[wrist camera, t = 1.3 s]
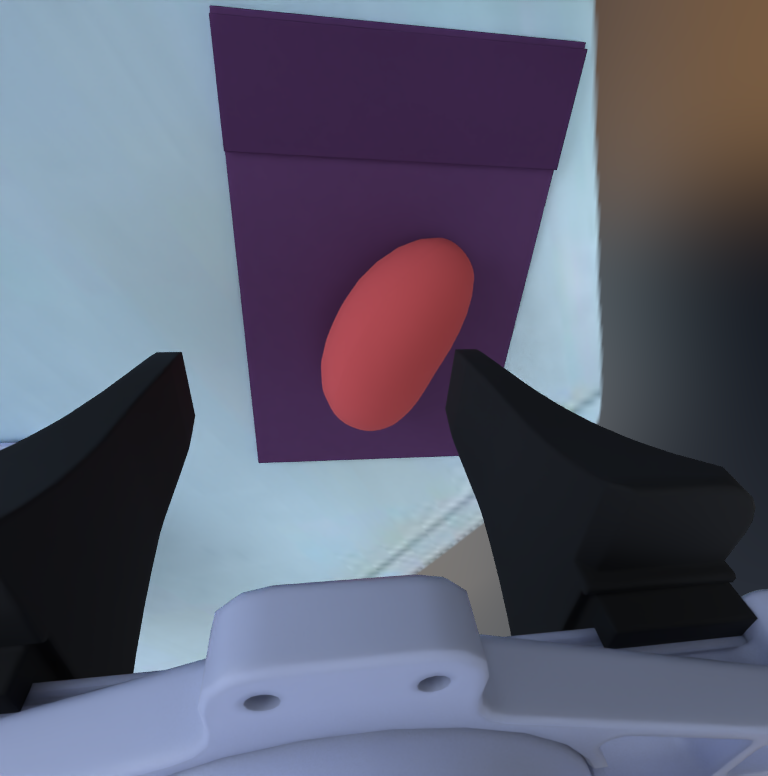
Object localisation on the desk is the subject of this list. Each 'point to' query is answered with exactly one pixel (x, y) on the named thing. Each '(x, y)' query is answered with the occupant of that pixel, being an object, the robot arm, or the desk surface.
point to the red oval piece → (395, 332)
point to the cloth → (377, 194)
